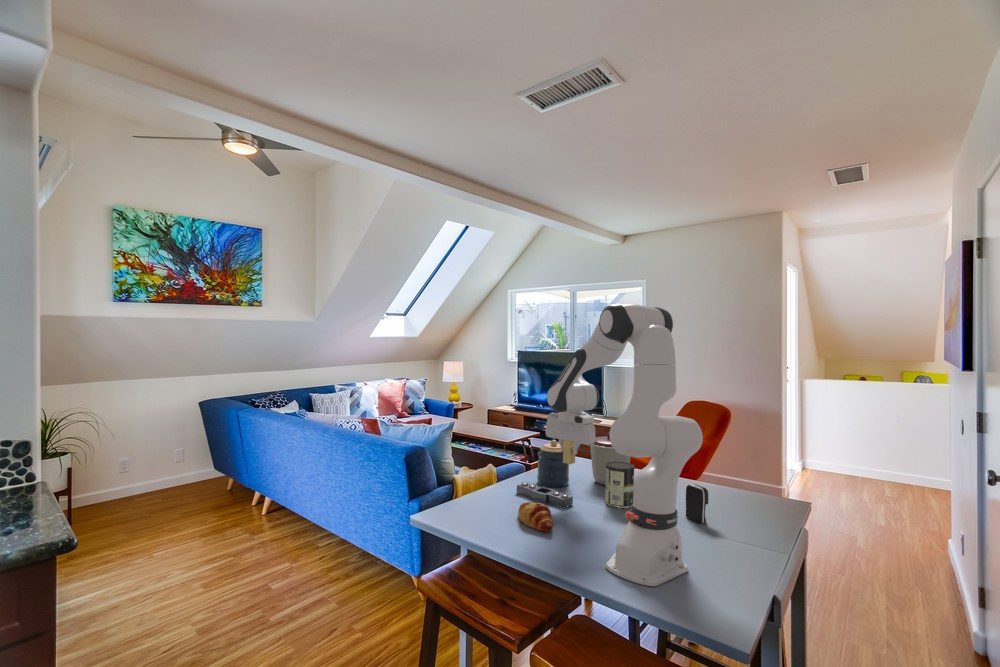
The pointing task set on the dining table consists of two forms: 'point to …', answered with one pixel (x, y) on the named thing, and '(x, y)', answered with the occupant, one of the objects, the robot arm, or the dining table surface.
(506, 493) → the dining table surface
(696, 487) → the battery charger
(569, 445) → the gold rectangular block
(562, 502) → the silver studded bar
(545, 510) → the croissant
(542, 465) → the canister
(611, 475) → the coffee can
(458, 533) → the dining table surface
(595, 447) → the canister
